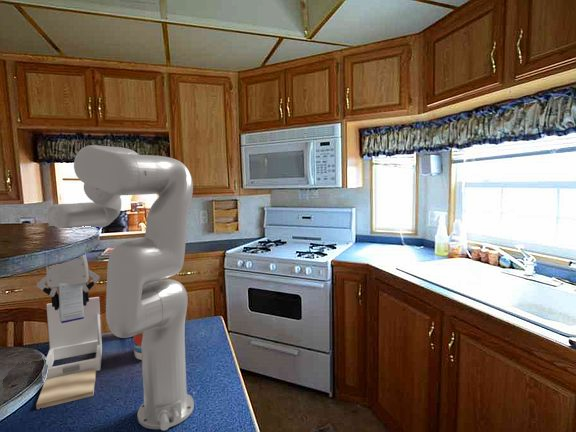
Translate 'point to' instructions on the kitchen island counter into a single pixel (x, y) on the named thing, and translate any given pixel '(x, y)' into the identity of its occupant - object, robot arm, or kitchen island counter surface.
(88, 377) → the pine board
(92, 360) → the case
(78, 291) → the supplement box
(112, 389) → the kitchen island counter surface
